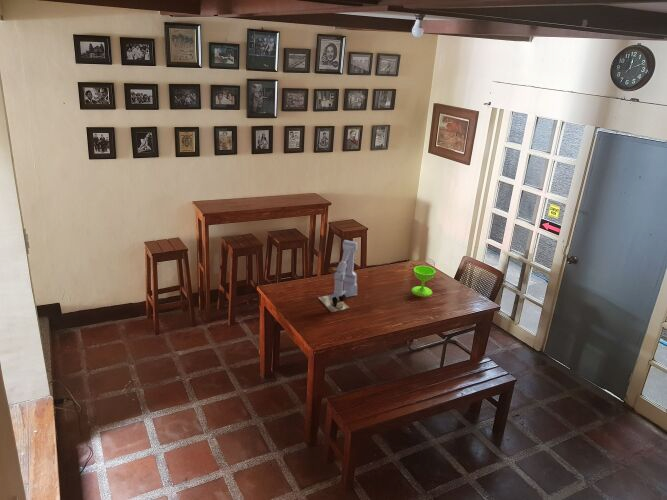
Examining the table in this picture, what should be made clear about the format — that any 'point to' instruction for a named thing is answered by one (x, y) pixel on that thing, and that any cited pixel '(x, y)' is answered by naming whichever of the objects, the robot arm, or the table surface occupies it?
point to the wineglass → (423, 280)
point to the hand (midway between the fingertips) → (337, 305)
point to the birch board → (327, 303)
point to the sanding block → (338, 304)
